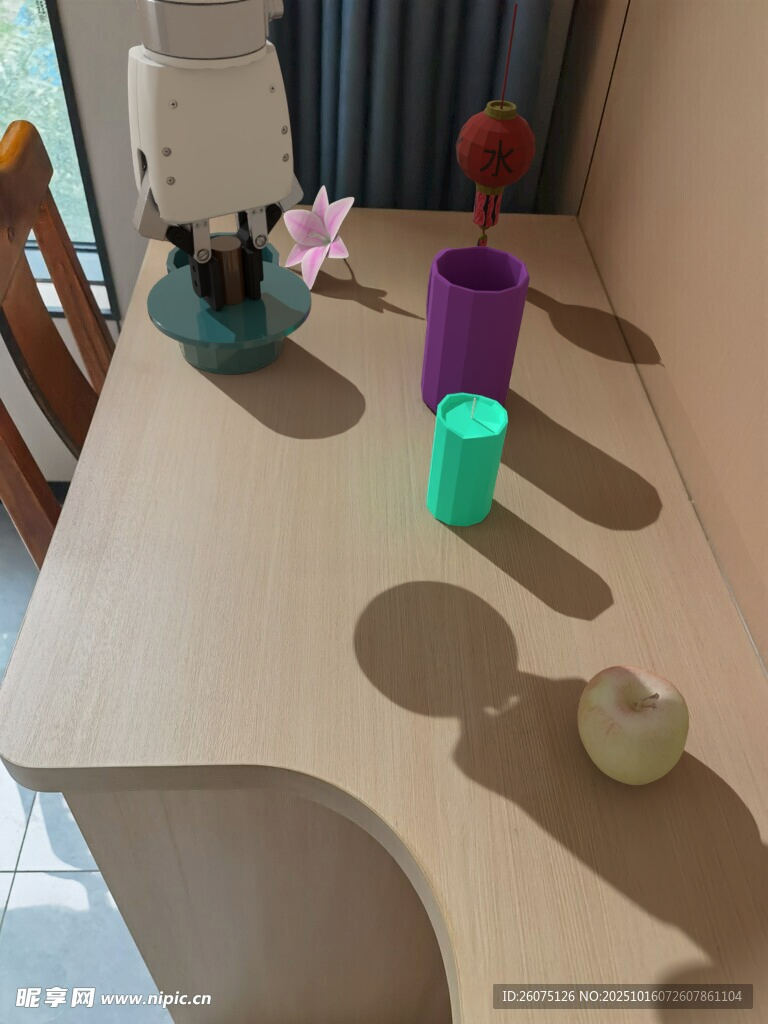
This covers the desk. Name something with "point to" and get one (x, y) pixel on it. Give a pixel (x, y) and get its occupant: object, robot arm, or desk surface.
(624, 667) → the fruit
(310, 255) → the lily
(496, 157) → the lantern
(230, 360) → the teal round pot
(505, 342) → the mug
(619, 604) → the desk surface
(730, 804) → the desk surface
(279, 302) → the lid
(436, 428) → the candle
